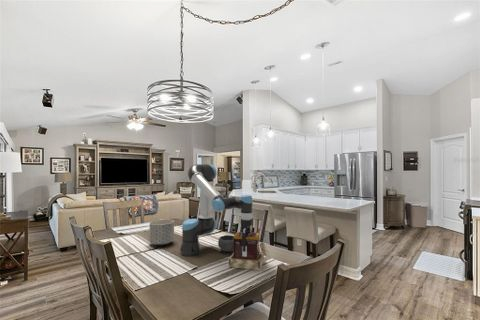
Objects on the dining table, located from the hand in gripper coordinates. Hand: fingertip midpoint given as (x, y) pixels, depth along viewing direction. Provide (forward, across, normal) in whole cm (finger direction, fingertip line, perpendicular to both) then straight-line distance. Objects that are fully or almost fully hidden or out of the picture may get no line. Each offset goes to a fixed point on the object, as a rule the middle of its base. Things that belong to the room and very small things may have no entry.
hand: (246, 253), depth 158 cm
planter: (+7, +21, +76) cm, 79 cm away
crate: (+7, 0, 0) cm, 7 cm away
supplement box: (+4, 0, 0) cm, 4 cm away
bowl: (+7, +20, +19) cm, 28 cm away
